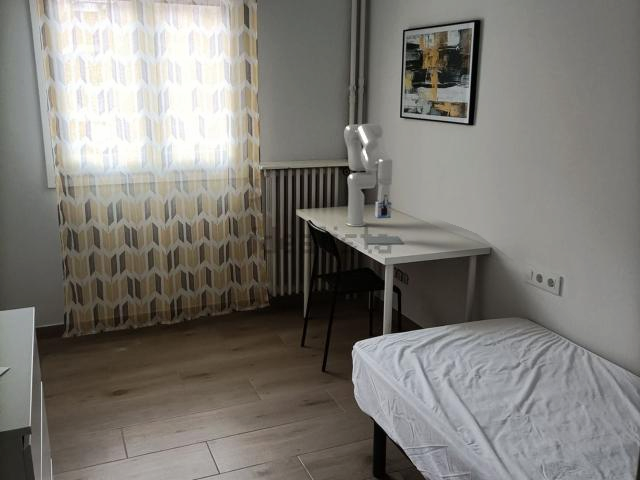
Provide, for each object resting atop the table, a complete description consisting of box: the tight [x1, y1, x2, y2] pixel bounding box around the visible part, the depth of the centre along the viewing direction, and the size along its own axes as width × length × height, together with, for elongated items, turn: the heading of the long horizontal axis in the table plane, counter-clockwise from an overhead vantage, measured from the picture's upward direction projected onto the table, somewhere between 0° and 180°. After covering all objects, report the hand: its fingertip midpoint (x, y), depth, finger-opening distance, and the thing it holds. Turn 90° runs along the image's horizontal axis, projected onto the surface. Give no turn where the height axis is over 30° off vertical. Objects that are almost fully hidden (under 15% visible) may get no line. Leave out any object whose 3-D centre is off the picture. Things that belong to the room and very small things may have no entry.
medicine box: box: [374, 201, 392, 219], centre depth 330 cm, size 8×4×9 cm, turn 101°
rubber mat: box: [363, 235, 405, 245], centre depth 331 cm, size 15×20×1 cm
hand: (383, 214), depth 331 cm, fingers closed on medicine box, 4 cm apart
